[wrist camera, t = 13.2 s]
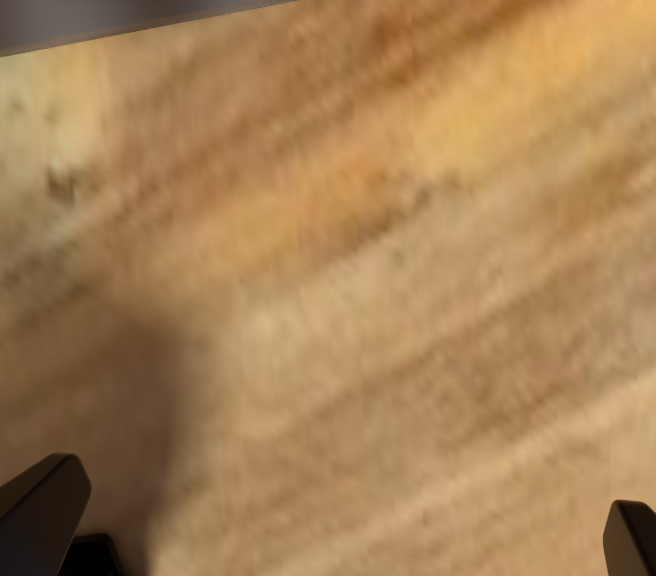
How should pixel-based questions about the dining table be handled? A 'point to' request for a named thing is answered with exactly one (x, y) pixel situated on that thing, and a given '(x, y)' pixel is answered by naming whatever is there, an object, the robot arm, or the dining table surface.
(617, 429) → the dining table surface
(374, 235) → the dining table surface
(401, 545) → the dining table surface
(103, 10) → the socket
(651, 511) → the robot arm
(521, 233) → the dining table surface
